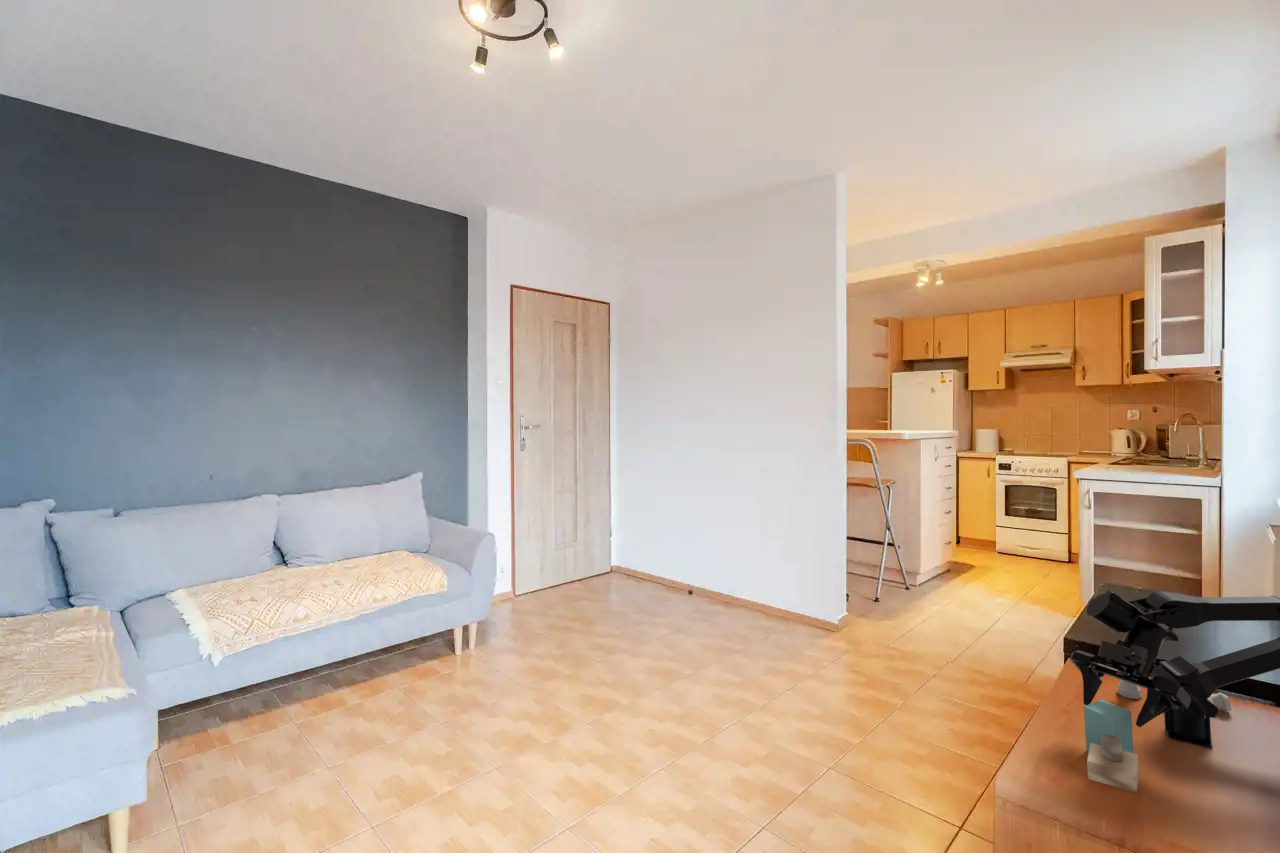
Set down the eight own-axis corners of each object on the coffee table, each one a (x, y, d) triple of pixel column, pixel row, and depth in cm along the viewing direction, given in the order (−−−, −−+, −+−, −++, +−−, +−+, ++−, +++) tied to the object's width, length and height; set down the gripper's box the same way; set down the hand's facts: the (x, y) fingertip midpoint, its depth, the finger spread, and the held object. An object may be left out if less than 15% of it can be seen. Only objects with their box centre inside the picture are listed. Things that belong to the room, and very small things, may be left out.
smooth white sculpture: (1181, 713, 131) (1180, 697, 135) (1232, 723, 126) (1230, 706, 130) (1180, 698, 130) (1179, 682, 134) (1231, 707, 125) (1229, 690, 129)
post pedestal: (1138, 772, 112) (1136, 736, 111) (1136, 792, 106) (1134, 754, 106) (1091, 760, 116) (1089, 725, 116) (1088, 778, 111) (1086, 742, 111)
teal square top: (1103, 742, 121) (1101, 699, 121) (1133, 756, 116) (1131, 711, 116) (1086, 750, 119) (1083, 706, 119) (1116, 764, 114) (1113, 718, 114)
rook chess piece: (1143, 701, 135) (1141, 666, 135) (1118, 697, 138) (1116, 663, 137) (1140, 692, 139) (1138, 658, 139) (1115, 688, 141) (1114, 655, 141)
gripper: (1072, 612, 128) (1042, 676, 124) (1179, 641, 111) (1148, 716, 107) (1097, 640, 131) (1068, 702, 127) (1204, 672, 114) (1175, 745, 110)
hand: (1110, 715), depth 118 cm, fingers open, 9 cm apart
